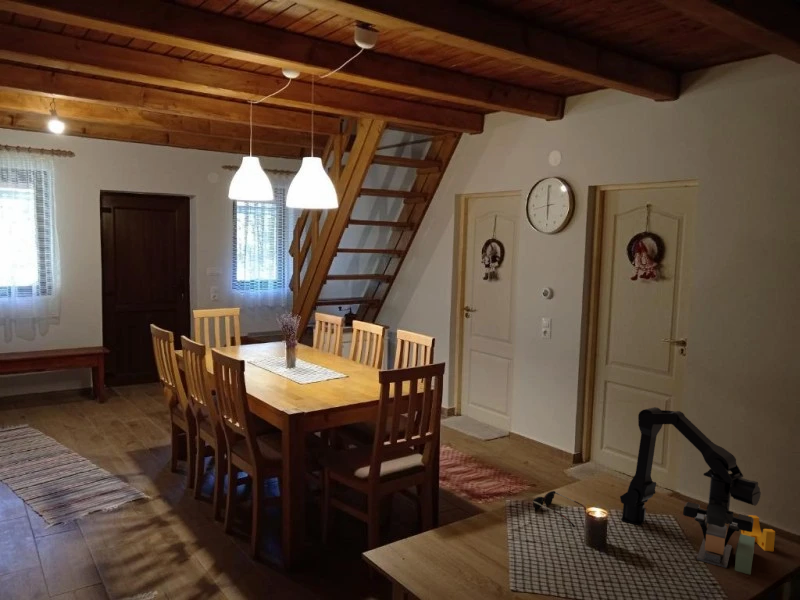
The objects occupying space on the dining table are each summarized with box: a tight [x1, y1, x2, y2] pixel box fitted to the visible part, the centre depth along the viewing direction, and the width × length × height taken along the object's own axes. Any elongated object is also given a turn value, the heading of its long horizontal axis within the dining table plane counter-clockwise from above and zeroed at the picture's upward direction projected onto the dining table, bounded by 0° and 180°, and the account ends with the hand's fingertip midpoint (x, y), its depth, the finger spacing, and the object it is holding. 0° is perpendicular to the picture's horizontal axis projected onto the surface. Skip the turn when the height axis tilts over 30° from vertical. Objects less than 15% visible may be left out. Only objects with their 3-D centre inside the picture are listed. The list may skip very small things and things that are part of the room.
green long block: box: [734, 533, 756, 576], centre depth 184 cm, size 4×16×5 cm, turn 147°
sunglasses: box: [532, 490, 587, 528], centre depth 212 cm, size 14×16×5 cm
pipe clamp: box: [740, 514, 776, 552], centre depth 198 cm, size 12×4×6 cm, turn 175°
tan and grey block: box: [705, 523, 728, 555], centre depth 188 cm, size 5×9×6 cm, turn 149°
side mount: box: [696, 538, 733, 569], centre depth 188 cm, size 8×16×3 cm, turn 147°
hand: (715, 543), depth 188 cm, fingers closed on tan and grey block, 5 cm apart
